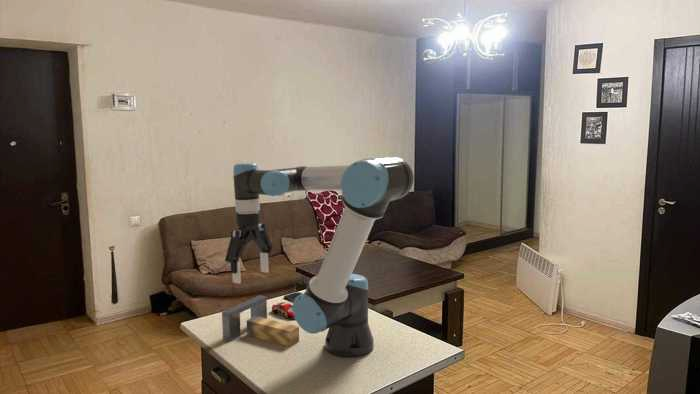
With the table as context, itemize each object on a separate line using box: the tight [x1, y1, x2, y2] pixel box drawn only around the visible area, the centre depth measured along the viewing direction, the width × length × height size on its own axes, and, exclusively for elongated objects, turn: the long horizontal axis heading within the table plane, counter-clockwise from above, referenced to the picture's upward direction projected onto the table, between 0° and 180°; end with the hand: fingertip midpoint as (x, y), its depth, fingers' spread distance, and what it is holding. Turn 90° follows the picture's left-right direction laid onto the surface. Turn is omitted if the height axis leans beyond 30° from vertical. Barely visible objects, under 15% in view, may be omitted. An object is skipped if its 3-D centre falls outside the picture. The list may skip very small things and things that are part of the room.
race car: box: [271, 301, 296, 320], centre depth 190 cm, size 13×5×4 cm, turn 47°
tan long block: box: [246, 316, 300, 347], centre depth 169 cm, size 18×5×5 cm, turn 59°
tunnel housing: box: [221, 294, 268, 342], centre depth 175 cm, size 3×18×10 cm, turn 149°
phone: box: [283, 291, 303, 303], centre depth 205 cm, size 8×1×15 cm
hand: (251, 277), depth 167 cm, fingers open, 13 cm apart
